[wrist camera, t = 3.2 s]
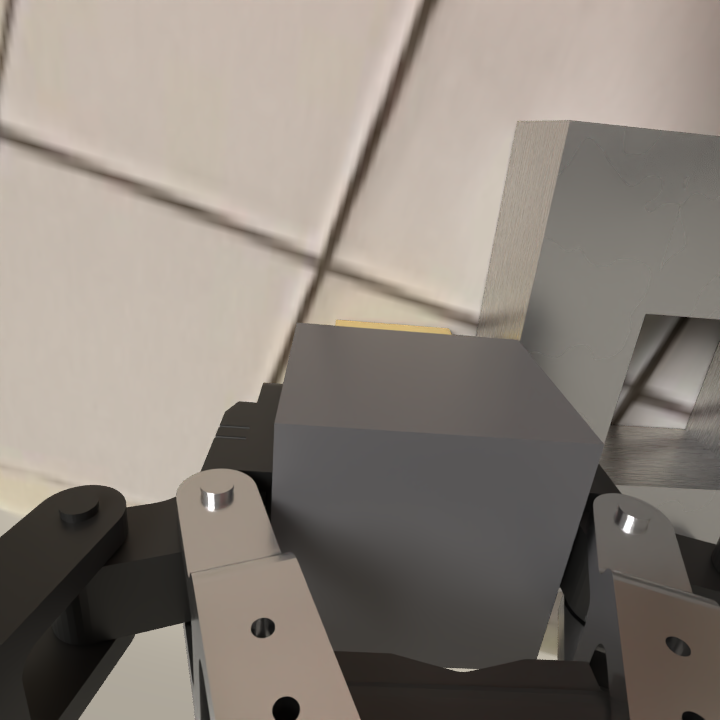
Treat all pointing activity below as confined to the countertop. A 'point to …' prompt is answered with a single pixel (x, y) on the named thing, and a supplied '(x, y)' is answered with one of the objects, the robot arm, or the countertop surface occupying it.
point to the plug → (428, 489)
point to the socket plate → (614, 288)
